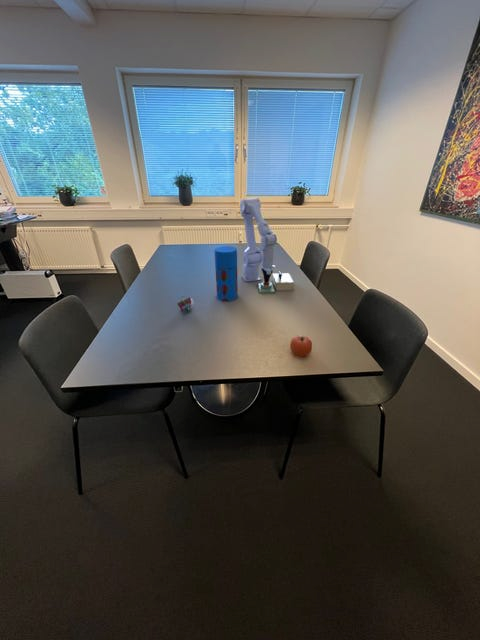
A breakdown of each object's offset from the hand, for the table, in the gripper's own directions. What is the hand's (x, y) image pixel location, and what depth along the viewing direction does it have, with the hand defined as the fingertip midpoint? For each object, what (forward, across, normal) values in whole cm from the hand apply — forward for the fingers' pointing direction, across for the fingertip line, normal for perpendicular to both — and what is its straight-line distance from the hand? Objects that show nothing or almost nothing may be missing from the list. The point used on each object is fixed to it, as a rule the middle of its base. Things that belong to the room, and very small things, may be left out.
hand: (266, 281), depth 141 cm
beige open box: (+4, +4, -10) cm, 11 cm away
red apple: (+4, -57, -5) cm, 57 cm away
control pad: (+4, 0, 0) cm, 4 cm away
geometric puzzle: (+1, -22, +41) cm, 47 cm away
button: (+2, 0, 0) cm, 2 cm away
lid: (0, +4, -10) cm, 11 cm away
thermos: (+4, -8, +22) cm, 24 cm away
